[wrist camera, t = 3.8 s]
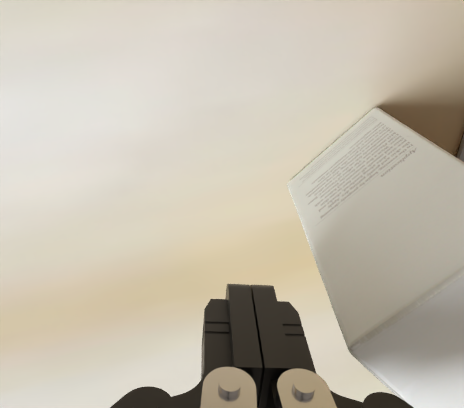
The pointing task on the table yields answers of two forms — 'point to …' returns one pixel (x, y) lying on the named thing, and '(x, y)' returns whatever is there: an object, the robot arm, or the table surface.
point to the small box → (392, 254)
